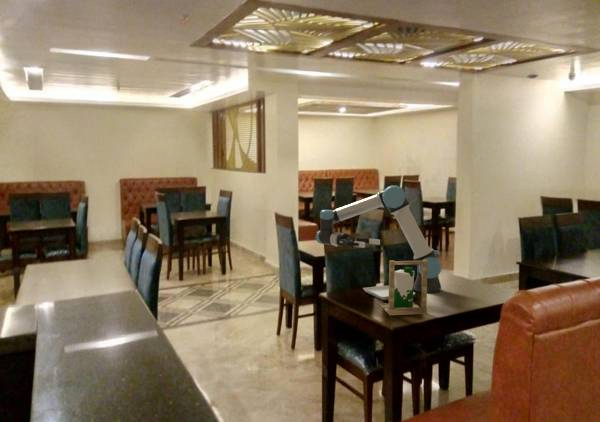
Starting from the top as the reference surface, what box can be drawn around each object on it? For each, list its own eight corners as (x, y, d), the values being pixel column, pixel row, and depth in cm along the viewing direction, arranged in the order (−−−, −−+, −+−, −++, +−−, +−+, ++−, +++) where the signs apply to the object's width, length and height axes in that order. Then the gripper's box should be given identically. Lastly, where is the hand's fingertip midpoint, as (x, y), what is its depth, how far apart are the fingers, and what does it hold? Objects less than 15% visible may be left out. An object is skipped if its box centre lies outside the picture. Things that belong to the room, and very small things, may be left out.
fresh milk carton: (408, 310, 231) (409, 269, 229) (390, 307, 236) (391, 267, 234) (415, 306, 238) (416, 267, 236) (398, 303, 243) (399, 264, 241)
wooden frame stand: (379, 304, 244) (380, 254, 241) (413, 303, 246) (414, 254, 244) (389, 315, 226) (391, 261, 224) (426, 314, 228) (428, 260, 226)
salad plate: (362, 293, 268) (362, 287, 267) (394, 290, 275) (395, 284, 275) (381, 303, 248) (381, 296, 248) (416, 299, 256) (416, 293, 255)
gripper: (353, 243, 273) (385, 248, 259) (325, 248, 255) (357, 253, 241) (354, 230, 273) (385, 234, 258) (325, 234, 254) (358, 238, 240)
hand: (372, 243), depth 249 cm, fingers open, 13 cm apart
